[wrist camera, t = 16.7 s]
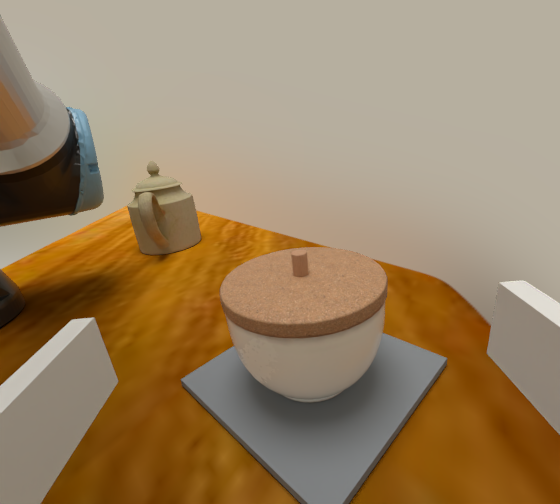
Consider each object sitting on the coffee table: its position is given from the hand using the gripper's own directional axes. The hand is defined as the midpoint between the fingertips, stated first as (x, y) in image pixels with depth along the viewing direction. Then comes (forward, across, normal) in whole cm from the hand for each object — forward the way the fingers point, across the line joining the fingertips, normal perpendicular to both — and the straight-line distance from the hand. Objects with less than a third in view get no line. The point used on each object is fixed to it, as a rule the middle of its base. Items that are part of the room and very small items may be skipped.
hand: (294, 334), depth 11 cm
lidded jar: (+10, +1, -11) cm, 15 cm away
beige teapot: (+44, -21, -12) cm, 51 cm away
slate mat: (+10, +1, -11) cm, 15 cm away
